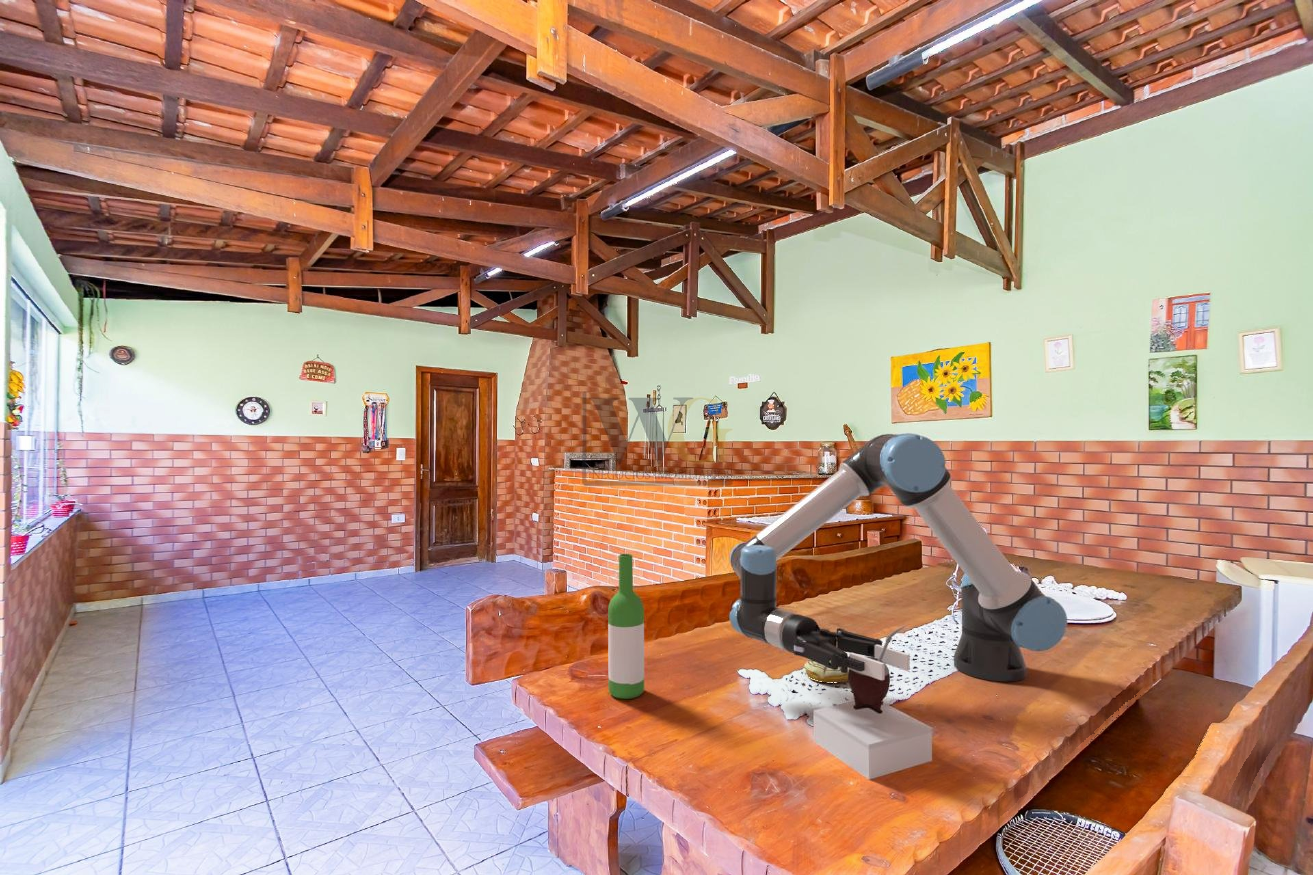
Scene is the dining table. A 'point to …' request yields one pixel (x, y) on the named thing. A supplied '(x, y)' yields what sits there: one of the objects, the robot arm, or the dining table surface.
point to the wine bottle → (626, 636)
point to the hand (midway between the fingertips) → (895, 667)
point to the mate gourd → (870, 684)
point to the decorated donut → (824, 672)
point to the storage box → (872, 738)
